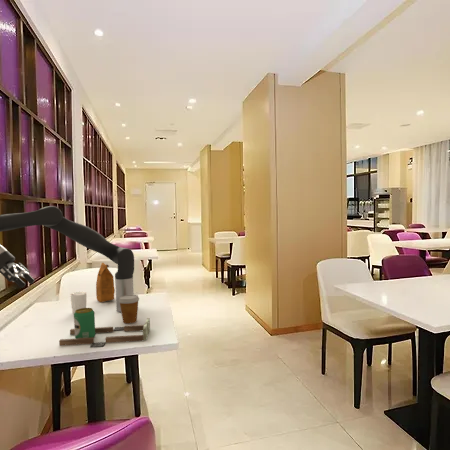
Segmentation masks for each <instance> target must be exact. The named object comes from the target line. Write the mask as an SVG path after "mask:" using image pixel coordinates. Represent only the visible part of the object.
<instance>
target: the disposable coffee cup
mask: <svg viewBox="0 0 450 450" xmlns="http://www.w3.org/2000/svg"><path fill="white" fill-rule="evenodd" d="M139 301H140V297H139V295H138V294H134V295H124V296H121V297H120V298H119V303H120V307H121V312H120V313H121V317H122V323H123V324H127V325H129V324H135V323H136V322H137V320H138V311H139V310H138V309H139V307H138V306H139Z"/></svg>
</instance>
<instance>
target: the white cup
mask: <svg viewBox="0 0 450 450" xmlns="http://www.w3.org/2000/svg"><path fill="white" fill-rule="evenodd" d="M69 297H70V302H71V311H72V314H73V315H74V313H75V311H76V310H78V309H81V308H87V292H86V291H79V292H78V291H76V292H73V293H70V296H69Z"/></svg>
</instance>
